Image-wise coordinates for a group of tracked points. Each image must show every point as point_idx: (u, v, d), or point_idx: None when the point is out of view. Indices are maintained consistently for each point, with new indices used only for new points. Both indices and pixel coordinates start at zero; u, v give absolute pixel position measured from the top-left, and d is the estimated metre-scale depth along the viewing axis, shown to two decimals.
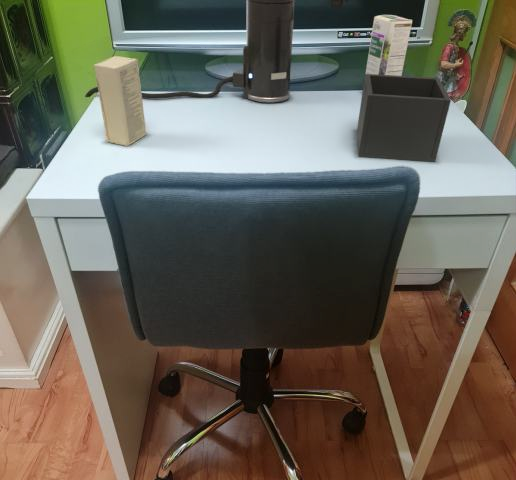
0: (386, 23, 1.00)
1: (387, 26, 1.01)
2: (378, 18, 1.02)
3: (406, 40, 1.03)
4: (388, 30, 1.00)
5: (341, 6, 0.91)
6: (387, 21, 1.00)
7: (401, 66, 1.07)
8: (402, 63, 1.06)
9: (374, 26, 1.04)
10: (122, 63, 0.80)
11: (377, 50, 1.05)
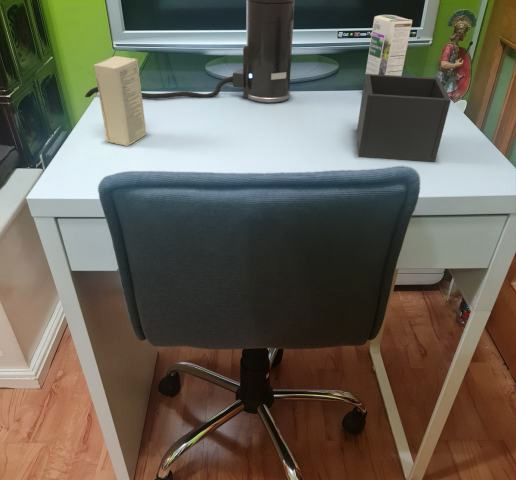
0: (386, 23, 1.00)
1: (387, 26, 1.01)
2: (378, 18, 1.02)
3: (406, 40, 1.03)
4: (388, 30, 1.00)
5: None
6: (387, 21, 1.00)
7: (401, 66, 1.07)
8: (402, 63, 1.06)
9: (374, 26, 1.04)
10: (122, 63, 0.80)
11: (377, 50, 1.05)
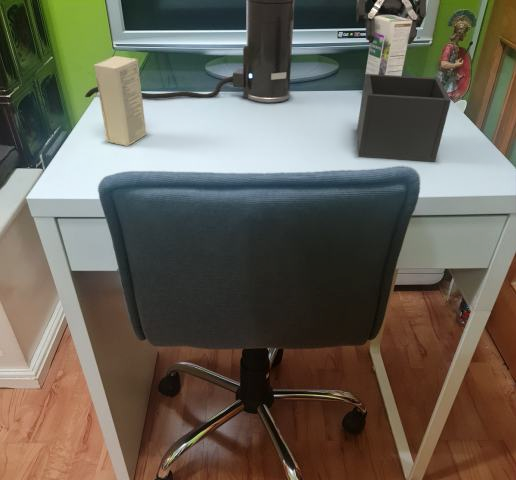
0: (386, 23, 1.00)
1: (387, 26, 1.00)
2: (378, 18, 1.02)
3: (406, 40, 1.03)
4: (388, 30, 1.00)
5: (410, 42, 1.04)
6: (387, 21, 1.00)
7: (401, 66, 1.07)
8: (402, 63, 1.06)
9: None
10: (122, 63, 0.80)
11: (377, 50, 1.05)
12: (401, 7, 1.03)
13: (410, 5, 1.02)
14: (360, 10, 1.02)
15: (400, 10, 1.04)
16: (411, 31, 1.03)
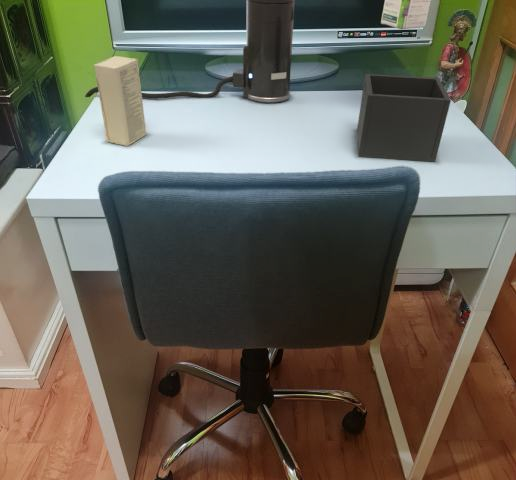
0: None
1: None
2: None
3: None
4: None
5: None
6: None
7: None
8: None
9: None
10: (122, 63, 0.80)
11: None
12: None
13: None
14: None
15: None
16: None
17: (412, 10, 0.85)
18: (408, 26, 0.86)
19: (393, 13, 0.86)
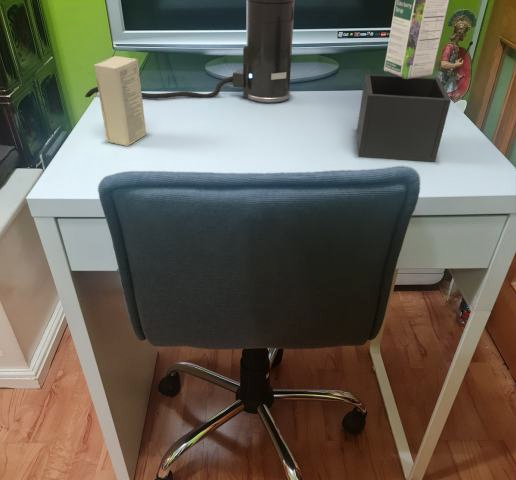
0: None
1: None
2: None
3: None
4: None
5: None
6: None
7: (439, 32, 0.76)
8: (440, 28, 0.76)
9: None
10: (122, 63, 0.80)
11: (406, 10, 0.74)
12: None
13: None
14: None
15: None
16: None
17: (417, 59, 0.77)
18: (413, 75, 0.79)
19: (397, 61, 0.79)
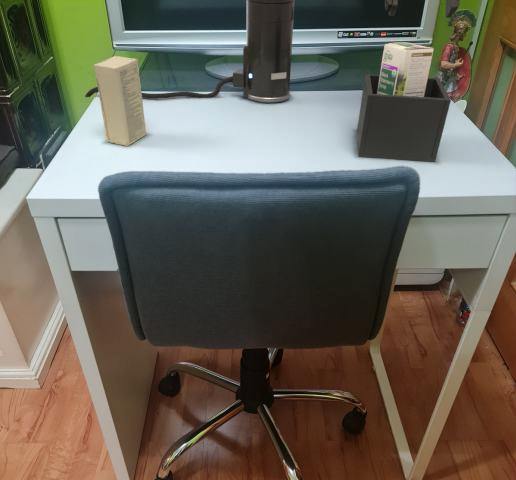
0: (401, 52, 0.78)
1: (401, 55, 0.78)
2: (390, 46, 0.80)
3: (426, 73, 0.81)
4: (403, 61, 0.78)
5: None
6: (401, 49, 0.78)
7: None
8: None
9: (384, 56, 0.81)
10: (122, 63, 0.80)
11: (388, 86, 0.82)
12: None
13: None
14: None
15: None
16: None
17: None
18: None
19: None
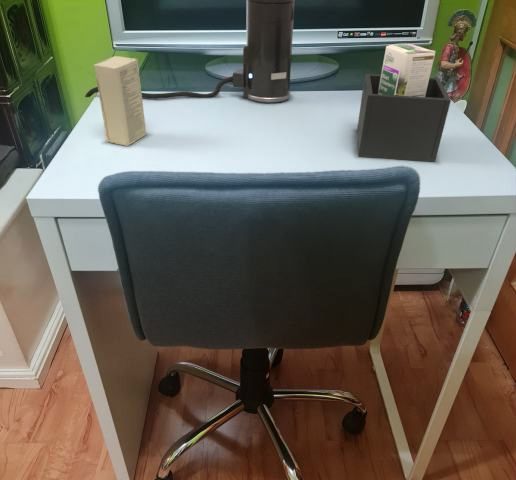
0: (402, 56, 0.78)
1: (403, 59, 0.78)
2: (391, 48, 0.79)
3: (427, 76, 0.81)
4: (404, 65, 0.78)
5: None
6: (403, 53, 0.77)
7: None
8: None
9: (386, 58, 0.81)
10: (122, 63, 0.80)
11: (389, 89, 0.82)
12: None
13: None
14: None
15: None
16: None
17: None
18: None
19: None
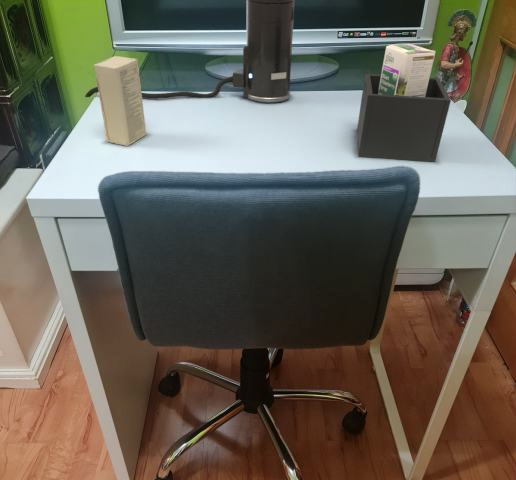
0: (402, 56, 0.78)
1: (403, 59, 0.78)
2: (391, 48, 0.79)
3: (427, 76, 0.81)
4: (404, 65, 0.78)
5: None
6: (403, 53, 0.77)
7: None
8: None
9: (386, 58, 0.81)
10: (122, 63, 0.80)
11: (389, 89, 0.82)
12: None
13: None
14: None
15: None
16: None
17: None
18: None
19: None
